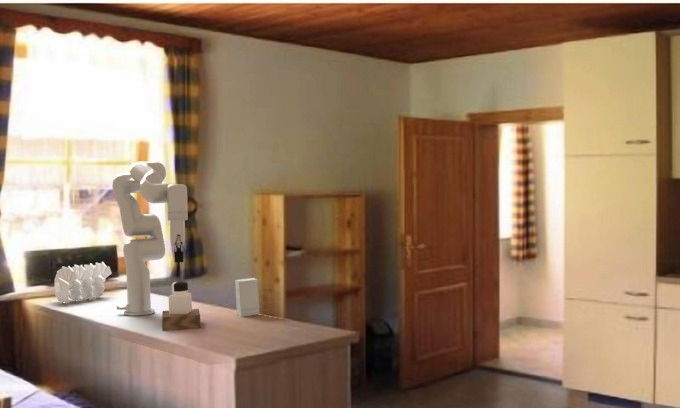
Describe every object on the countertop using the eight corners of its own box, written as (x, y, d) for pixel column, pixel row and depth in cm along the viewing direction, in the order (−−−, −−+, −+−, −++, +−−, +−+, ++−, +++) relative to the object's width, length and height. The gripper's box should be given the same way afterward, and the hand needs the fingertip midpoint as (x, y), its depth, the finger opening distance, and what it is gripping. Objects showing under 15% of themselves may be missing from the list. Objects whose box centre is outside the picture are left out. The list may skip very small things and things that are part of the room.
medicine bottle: (192, 311, 285) (191, 280, 285) (187, 314, 278) (186, 283, 278) (174, 311, 286) (173, 280, 285) (168, 314, 278) (167, 283, 278)
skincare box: (255, 312, 306) (254, 277, 306) (259, 315, 301) (258, 279, 300) (235, 314, 302) (234, 279, 302) (240, 317, 297) (239, 280, 296)
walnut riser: (162, 330, 273) (162, 317, 273) (162, 323, 287) (162, 311, 287) (200, 328, 277) (200, 314, 276) (199, 321, 290) (198, 308, 290)
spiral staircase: (53, 311, 344) (99, 301, 363) (71, 298, 333) (118, 288, 353) (41, 276, 347) (87, 267, 367) (59, 262, 337) (105, 254, 357)
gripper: (167, 215, 288) (169, 258, 289) (167, 217, 271) (168, 263, 272) (187, 214, 290) (188, 257, 290) (188, 217, 273) (189, 263, 274)
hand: (178, 260), depth 281 cm, fingers open, 9 cm apart
